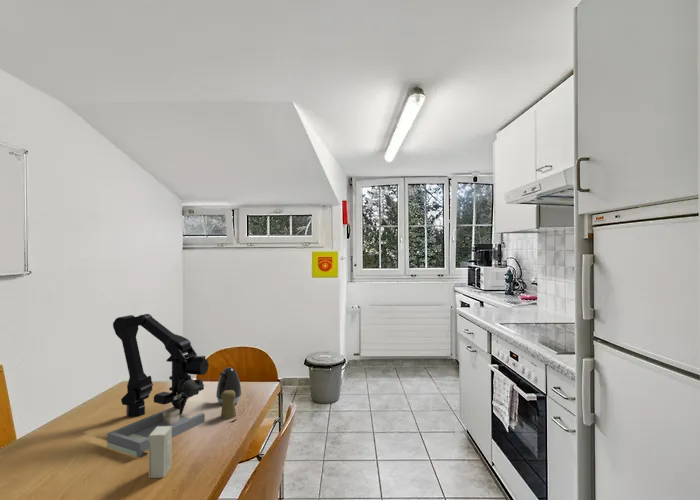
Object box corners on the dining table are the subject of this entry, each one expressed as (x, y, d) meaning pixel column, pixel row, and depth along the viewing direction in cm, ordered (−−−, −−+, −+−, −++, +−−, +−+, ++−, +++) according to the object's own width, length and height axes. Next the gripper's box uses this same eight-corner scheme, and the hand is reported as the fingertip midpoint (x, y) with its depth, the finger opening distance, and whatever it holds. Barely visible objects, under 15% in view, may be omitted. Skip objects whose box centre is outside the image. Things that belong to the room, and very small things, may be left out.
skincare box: (156, 467, 119) (156, 425, 119) (172, 466, 119) (172, 425, 119) (147, 479, 112) (148, 435, 113) (164, 478, 113) (164, 434, 113)
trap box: (107, 447, 131) (107, 433, 131) (173, 418, 155) (173, 406, 155) (139, 457, 124) (140, 443, 124) (204, 425, 148) (204, 413, 148)
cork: (231, 423, 149) (231, 394, 150) (217, 422, 151) (217, 393, 151) (239, 417, 155) (239, 388, 155) (225, 416, 157) (225, 387, 157)
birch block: (162, 422, 147) (162, 411, 147) (171, 418, 151) (171, 407, 151) (170, 424, 146) (170, 413, 146) (179, 420, 149) (179, 409, 149)
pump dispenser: (210, 406, 167) (210, 369, 167) (227, 398, 177) (227, 363, 177) (230, 409, 163) (230, 372, 163) (246, 401, 173) (246, 365, 173)
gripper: (174, 383, 140) (174, 428, 140) (214, 369, 157) (214, 409, 157) (152, 379, 145) (152, 422, 145) (193, 366, 162) (193, 405, 161)
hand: (179, 414), depth 152 cm, fingers closed
